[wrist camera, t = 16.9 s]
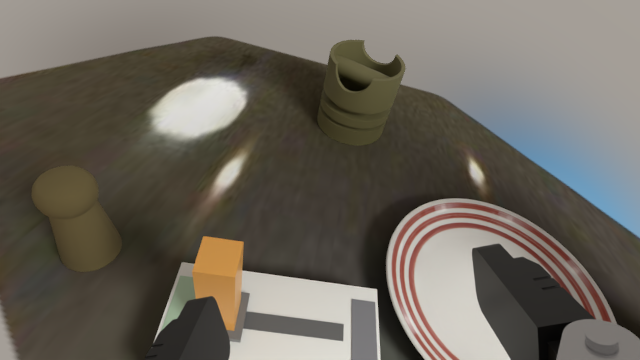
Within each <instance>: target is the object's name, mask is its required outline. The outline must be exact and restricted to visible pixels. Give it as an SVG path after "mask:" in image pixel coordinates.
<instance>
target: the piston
mask: <svg viewBox="0 0 640 360" xmlns="http://www.w3.org/2000/svg"><path fill="white" fill-rule="evenodd" d="M404 72H405V64H404V62H403V60H402V59H401V58H400V57H399V56H398V55H396V56H395V58H394V60H393V61H392V62H390V63H388V64H383V63H379V62H376V61H375V60H373V59H372V58H371V57H370V56H369V55H368V54H367V53H366V51H365V48H364V41H363V40H347V41H342V42H339V43H337V44H335V45H334V46H333V47H332V49H331V51H330V56H329V62H328V66H327V71H326V76H325V81H324V88H323V91H322V95H321V101H320V105H319V110H318V115H317V122H318V125H319V127H320V128H321V130H322V131H323V132H324V133H325V134H326V135H327V136H329V137H330V138H332V139H334V140H336V141H338V142H341V143H344V144H348V145H356V146H360V145H368V144H371V143H373V142H375V141H377V140H378V139H379V138H380V136H381V134H382V132H383V129H384V126H385V124H386V121H387V118H388V115H389V113H390V110H391V106H392V104H393V102H394V99H395V96H396V94H397V91H398V88H399V86H400V83H401V80H402V77H403V74H404Z"/></svg>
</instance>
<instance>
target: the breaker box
mask: <svg viewBox="0 0 640 360" xmlns="http://www.w3.org/2000/svg"><path fill="white" fill-rule="evenodd" d="M193 267H194V264H192V263H184V262H182V263H181V266H180V269H179V272H178V275H177V277H176V280H175V283H174V286H173V289H172V292H171V294H170V297H169V300H168V303H167V306H166V309H165V311H164V314H163V317H162V320H161V323H160V326H159V328H158V331H157V334H156V337H155V339H156V338H157V336H158V334H159V333H160V332H161V331H162V330H163V329H164V328H165V327H166V326H167V325H168V324H169V323H170V322H171V321H172V320H174V319H177V318H178V316H179V315H180V313H181V311H182V309H183V307H184V306H185V304H186V302H187V301H188V300H193V299H196V297H195V289H194V282H193V275H192V270H193ZM241 292H246V293H250V297H249V302H248V307H247V312H246V317H245V322H244V327H243V332H242V337H241V342H232V341H230V356H229V360H380V339H379V319H378V298H377V289H372V288H364V287H357V286H350V285H343V284H336V283H328V282H321V281H314V280H307V279H300V278H292V277H285V276H278V275H271V274H264V273H256V272H249V271H242V288H241ZM154 341H155V340H154ZM153 343H154V342H153Z"/></svg>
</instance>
